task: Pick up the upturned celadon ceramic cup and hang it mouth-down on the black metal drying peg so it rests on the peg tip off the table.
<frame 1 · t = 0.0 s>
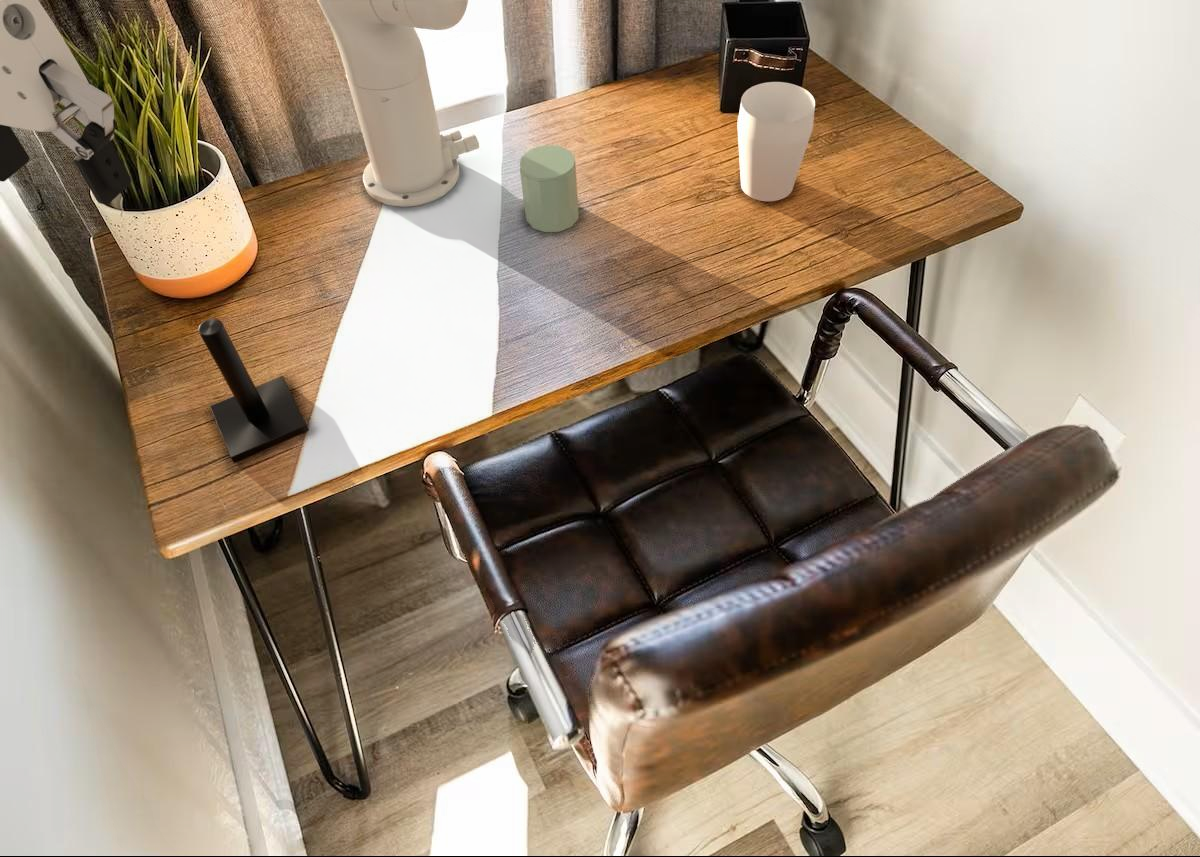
hand: (64, 181, 68), 31 cm above the table, tool pointing down, fingers open, 9 cm apart
upturned cup: (552, 215, 113), on the table
cup: (766, 187, 115), on the table
drying peg: (260, 421, 94), on the table
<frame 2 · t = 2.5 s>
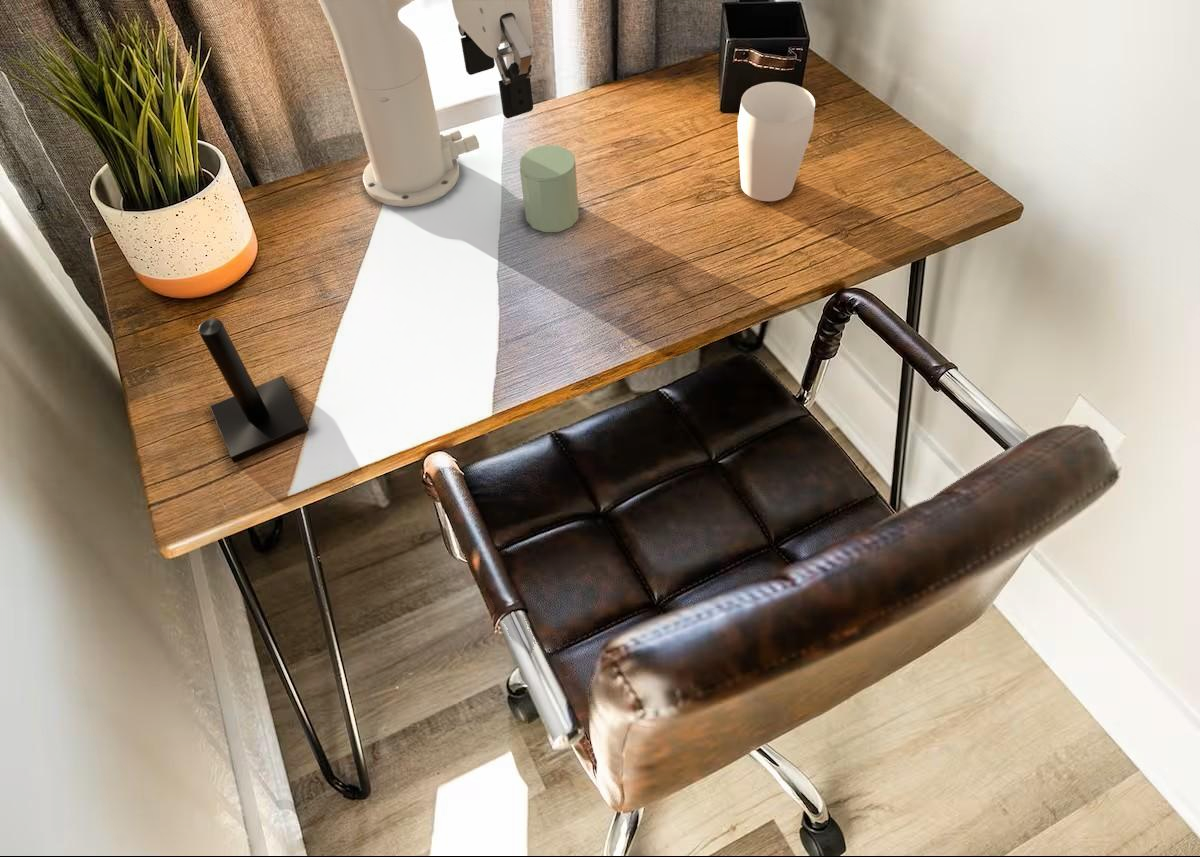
hand: (499, 91, 95), 20 cm above the table, tool pointing down, fingers open, 9 cm apart
nothing on the table moved.
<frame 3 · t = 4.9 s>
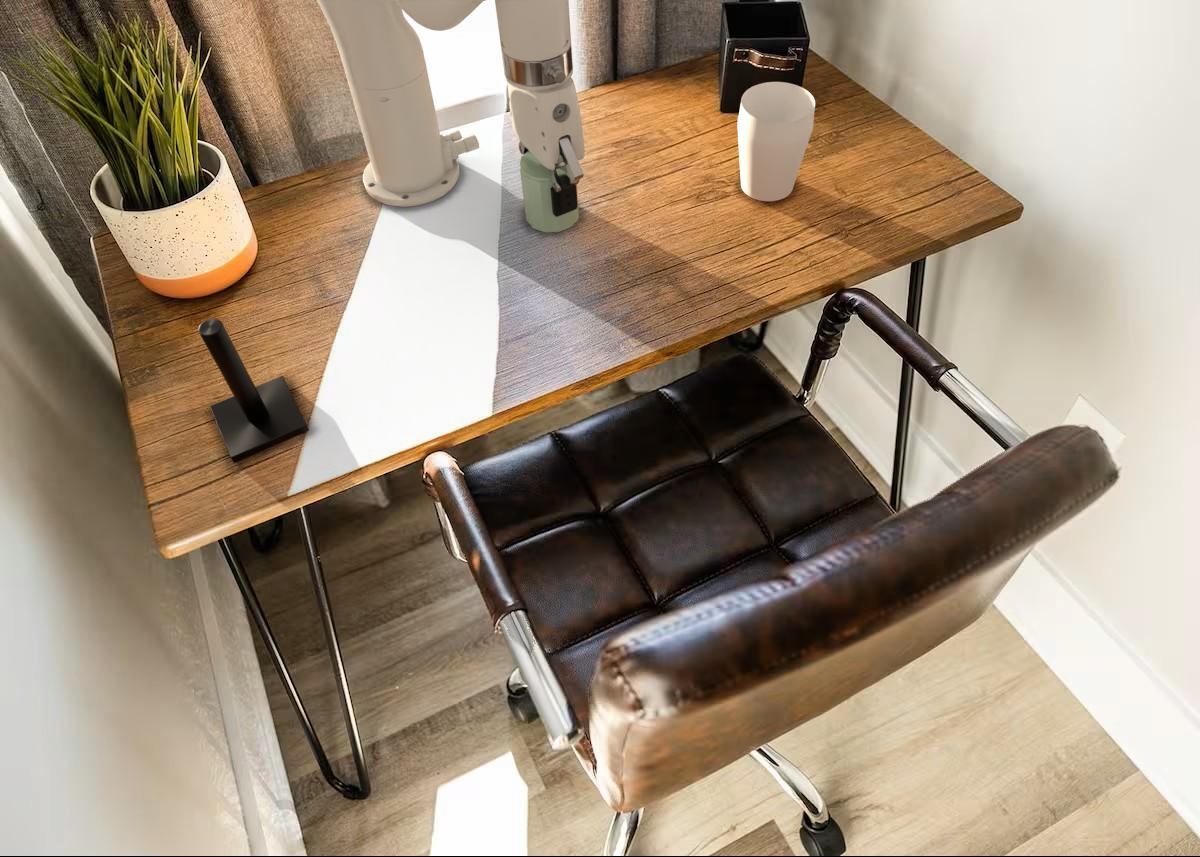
hand: (550, 194, 110), 3 cm above the table, tool pointing down, fingers closed on upturned cup, 6 cm apart
upturned cup: (552, 215, 113), on the table, touching gripper
everything else where it was.
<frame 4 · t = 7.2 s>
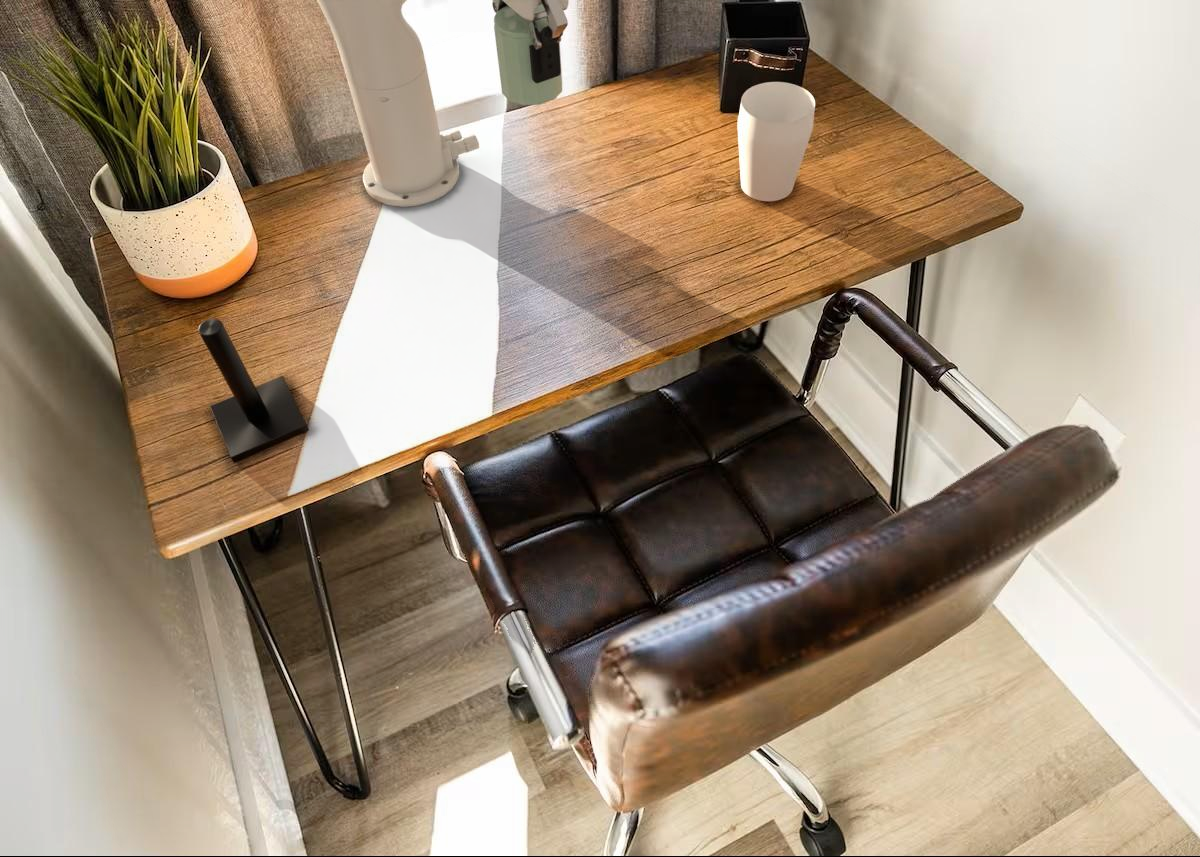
hand: (529, 61, 96), 21 cm above the table, tool pointing down, fingers closed on upturned cup, 6 cm apart
upturned cup: (532, 88, 98), point 18 cm above the table, touching gripper
everything else where it was.
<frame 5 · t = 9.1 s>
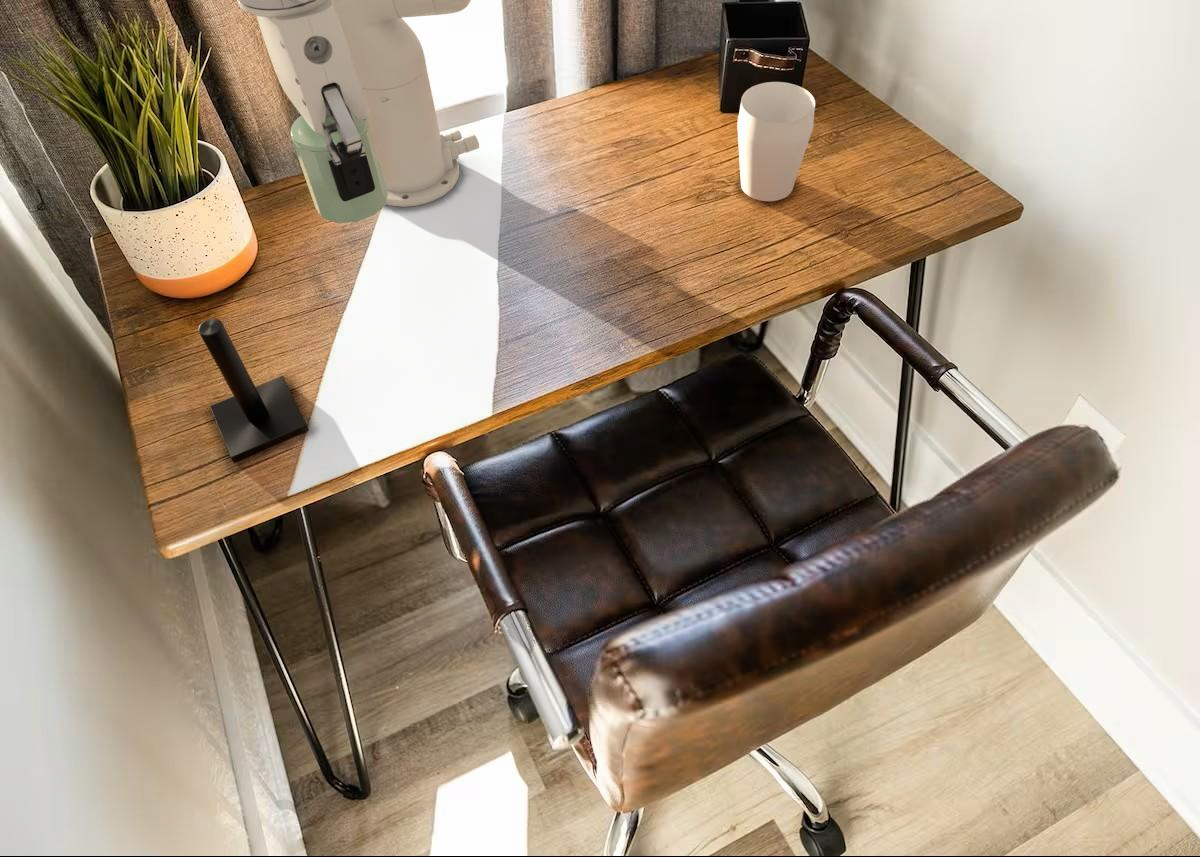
hand: (342, 172, 82), 23 cm above the table, tool pointing down, fingers closed on upturned cup, 6 cm apart
upturned cup: (352, 200, 84), point 20 cm above the table, touching gripper
everything else where it was.
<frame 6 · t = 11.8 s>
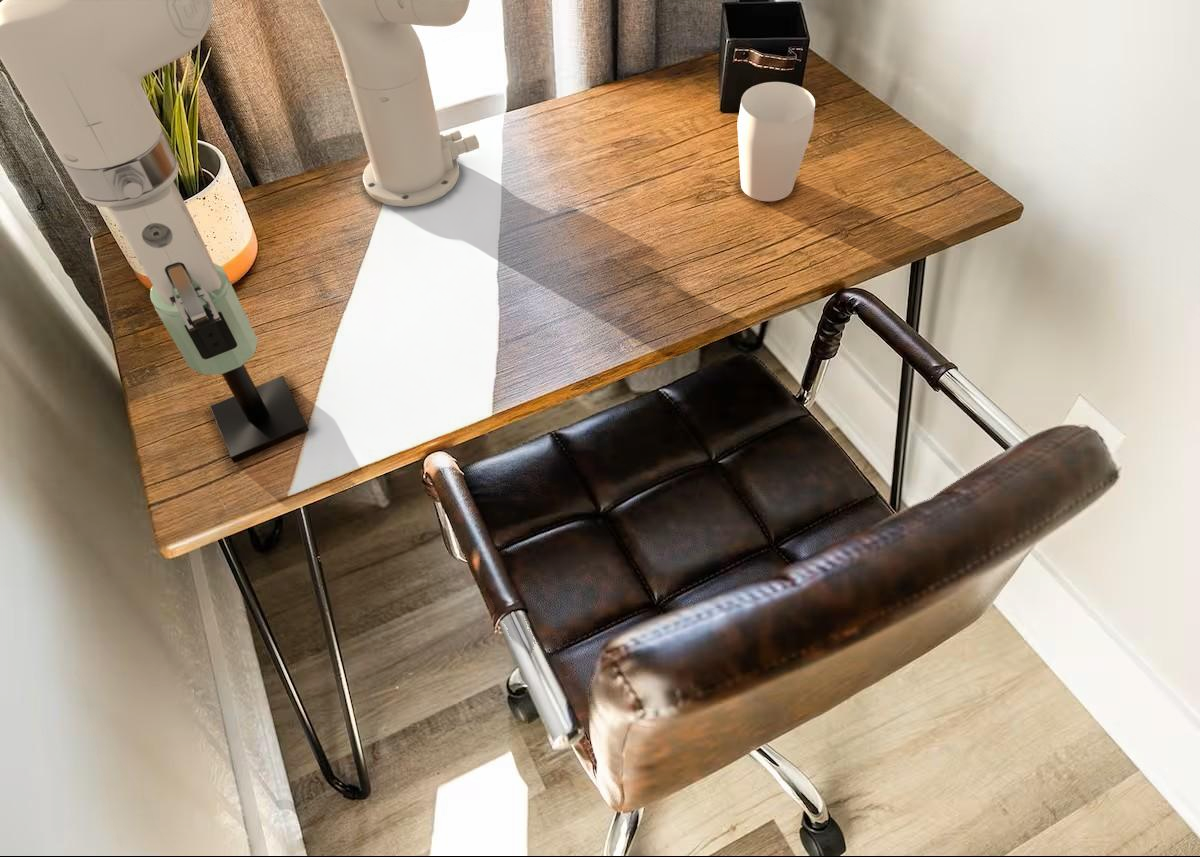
hand: (208, 325, 82), 14 cm above the table, tool pointing down, fingers closed on upturned cup, 6 cm apart
upturned cup: (221, 348, 85), point 11 cm above the table, touching gripper
everything else where it was.
when the fingers open (10 cm above the table, at t = 13.6 s): upturned cup stays where it is, resting on drying peg.
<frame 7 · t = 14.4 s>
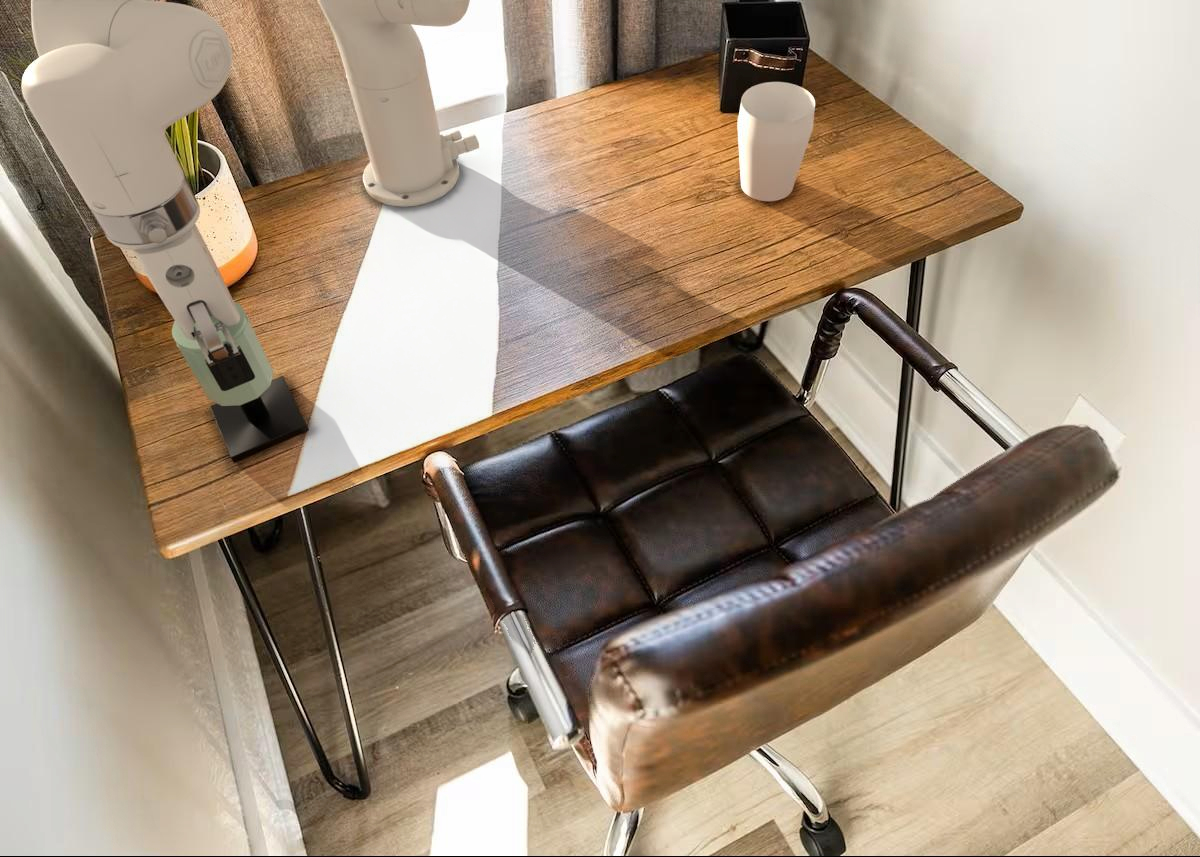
hand: (224, 350, 85), 11 cm above the table, tool pointing down, fingers open, 9 cm apart
upturned cup: (239, 380, 89), point 6 cm above the table, touching drying peg
everything else where it was.
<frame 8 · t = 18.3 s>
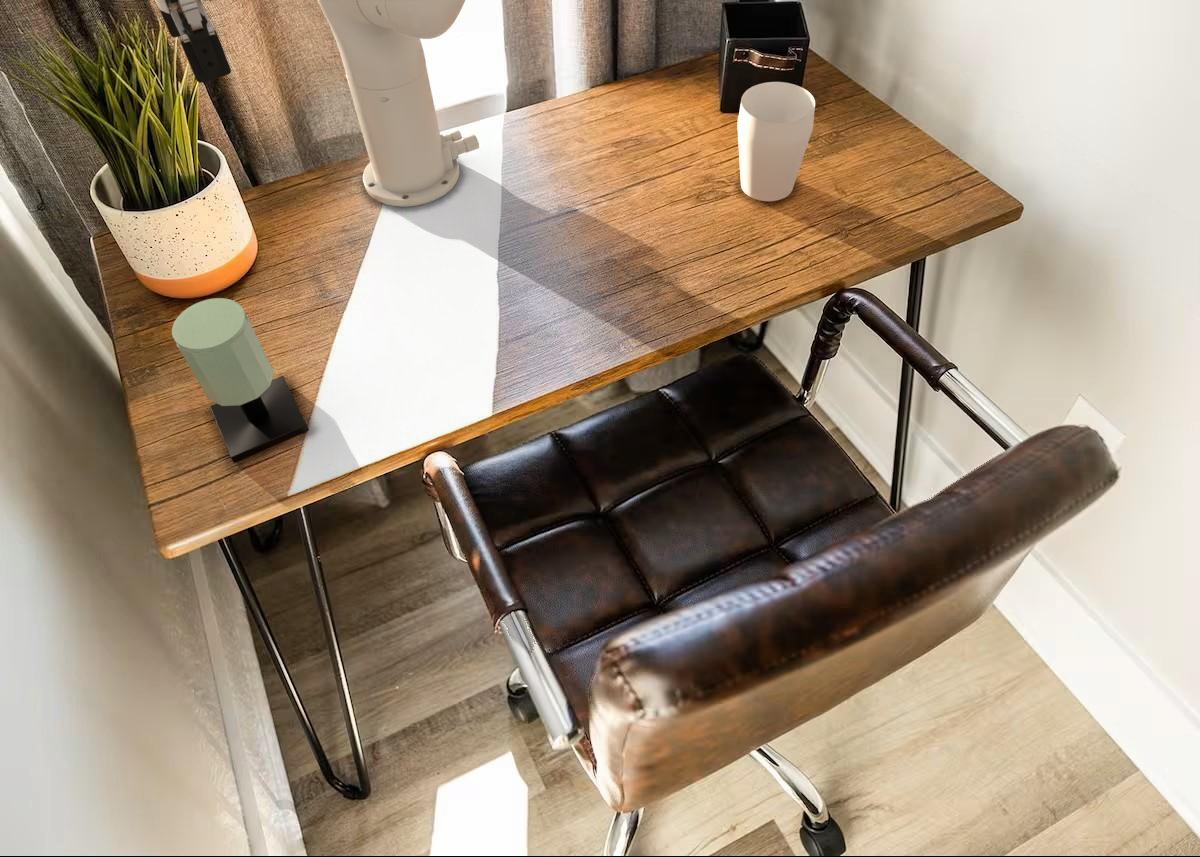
hand: (200, 54, 85), 28 cm above the table, tool pointing down, fingers open, 9 cm apart
nothing on the table moved.
at the end: upturned cup 0.1 cm from the drying peg (horizontally); upturned cup point 6.5 cm above the table; upturned cup touching drying peg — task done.
